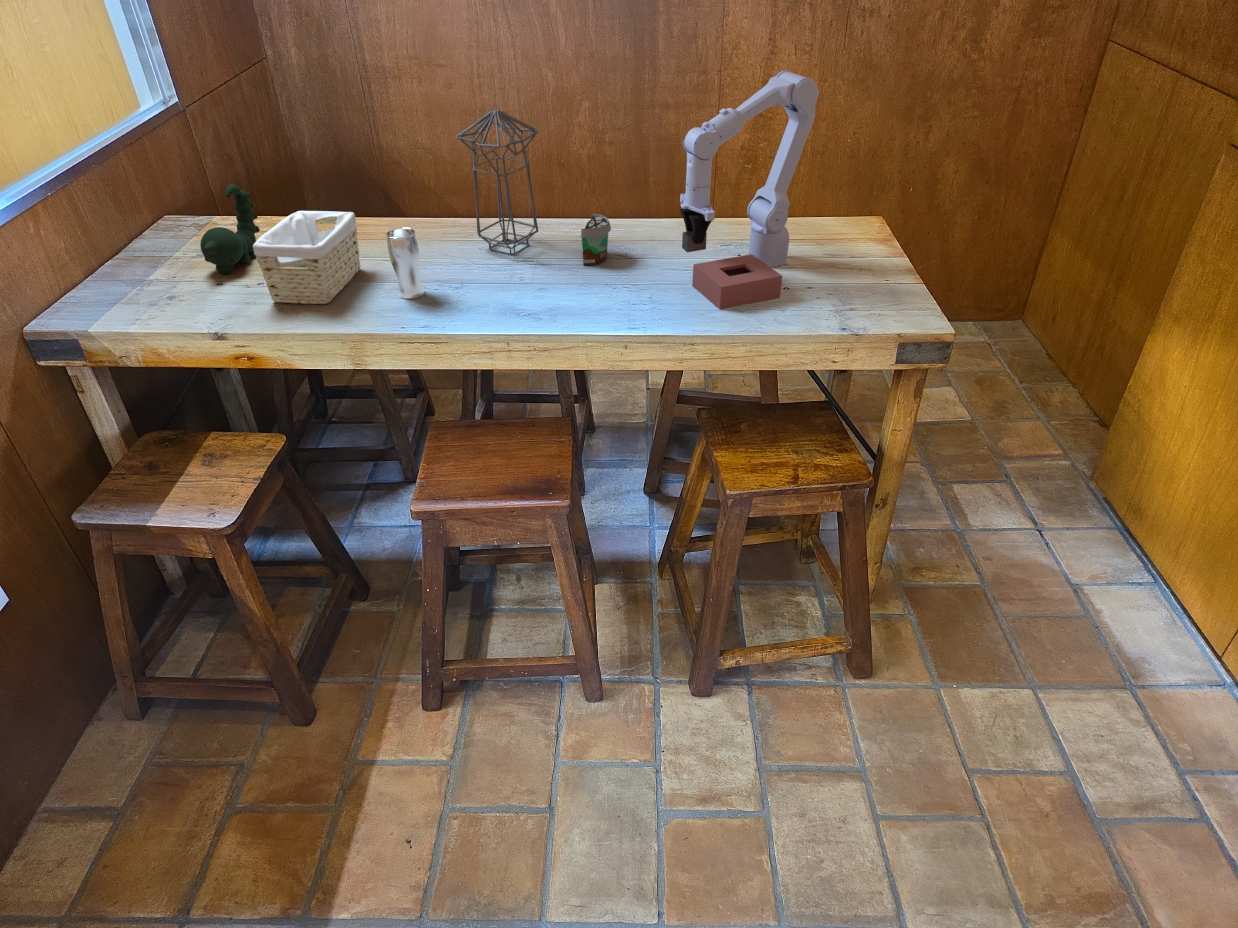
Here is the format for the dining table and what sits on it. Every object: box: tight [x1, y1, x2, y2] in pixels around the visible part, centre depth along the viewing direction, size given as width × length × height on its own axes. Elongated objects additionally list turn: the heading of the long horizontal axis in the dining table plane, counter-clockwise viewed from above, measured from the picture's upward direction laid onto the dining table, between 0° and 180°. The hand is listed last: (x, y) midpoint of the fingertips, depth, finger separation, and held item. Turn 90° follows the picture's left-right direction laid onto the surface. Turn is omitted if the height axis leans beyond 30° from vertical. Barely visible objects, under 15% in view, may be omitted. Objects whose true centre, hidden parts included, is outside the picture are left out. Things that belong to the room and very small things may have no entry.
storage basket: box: [253, 210, 361, 305], centre depth 187 cm, size 24×16×15 cm
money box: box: [691, 254, 783, 310], centre depth 186 cm, size 16×14×6 cm
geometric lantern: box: [455, 109, 539, 256], centre depth 200 cm, size 16×16×35 cm
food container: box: [580, 212, 612, 267], centre depth 201 cm, size 12×6×10 cm, turn 168°
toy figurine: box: [199, 183, 260, 275], centre depth 197 cm, size 9×19×25 cm
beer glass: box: [385, 227, 425, 300], centre depth 183 cm, size 7×7×15 cm
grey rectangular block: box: [681, 231, 708, 253], centre depth 190 cm, size 5×3×4 cm, turn 112°
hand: (695, 240), depth 190 cm, fingers closed on grey rectangular block, 3 cm apart
